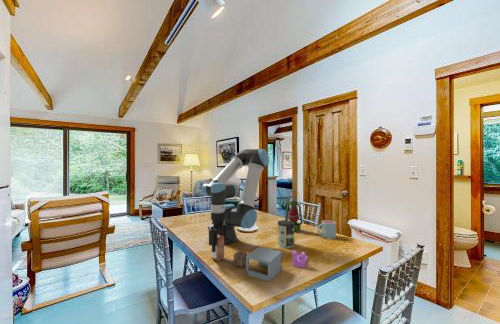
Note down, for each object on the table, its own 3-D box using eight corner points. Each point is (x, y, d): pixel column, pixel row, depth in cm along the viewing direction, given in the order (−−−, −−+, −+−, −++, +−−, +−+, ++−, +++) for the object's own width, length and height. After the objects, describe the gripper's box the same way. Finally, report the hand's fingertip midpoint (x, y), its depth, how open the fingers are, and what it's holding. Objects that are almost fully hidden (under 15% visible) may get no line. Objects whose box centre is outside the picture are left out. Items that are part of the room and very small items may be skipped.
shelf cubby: (246, 274, 103) (246, 255, 103) (259, 263, 114) (259, 246, 114) (269, 281, 97) (269, 262, 97) (281, 269, 108) (281, 251, 108)
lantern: (282, 230, 169) (282, 190, 169) (287, 227, 178) (287, 189, 178) (300, 233, 162) (300, 192, 162) (304, 230, 171) (305, 190, 171)
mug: (329, 233, 163) (329, 219, 163) (338, 237, 154) (338, 223, 154) (313, 235, 159) (313, 221, 159) (321, 239, 150) (321, 224, 150)
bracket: (303, 268, 110) (303, 253, 110) (292, 265, 112) (292, 251, 112) (308, 257, 122) (308, 244, 122) (297, 255, 124) (298, 243, 124)
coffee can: (294, 242, 144) (294, 220, 144) (294, 248, 134) (294, 225, 134) (278, 241, 147) (278, 219, 147) (277, 247, 136) (277, 223, 136)
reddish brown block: (211, 259, 118) (211, 236, 119) (217, 256, 123) (217, 234, 123) (242, 267, 109) (242, 242, 109) (247, 263, 113) (247, 239, 113)
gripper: (212, 216, 110) (212, 263, 110) (233, 209, 125) (233, 251, 125) (201, 214, 114) (201, 260, 114) (222, 208, 129) (222, 248, 129)
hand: (217, 255), depth 120 cm, fingers closed on reddish brown block, 4 cm apart
